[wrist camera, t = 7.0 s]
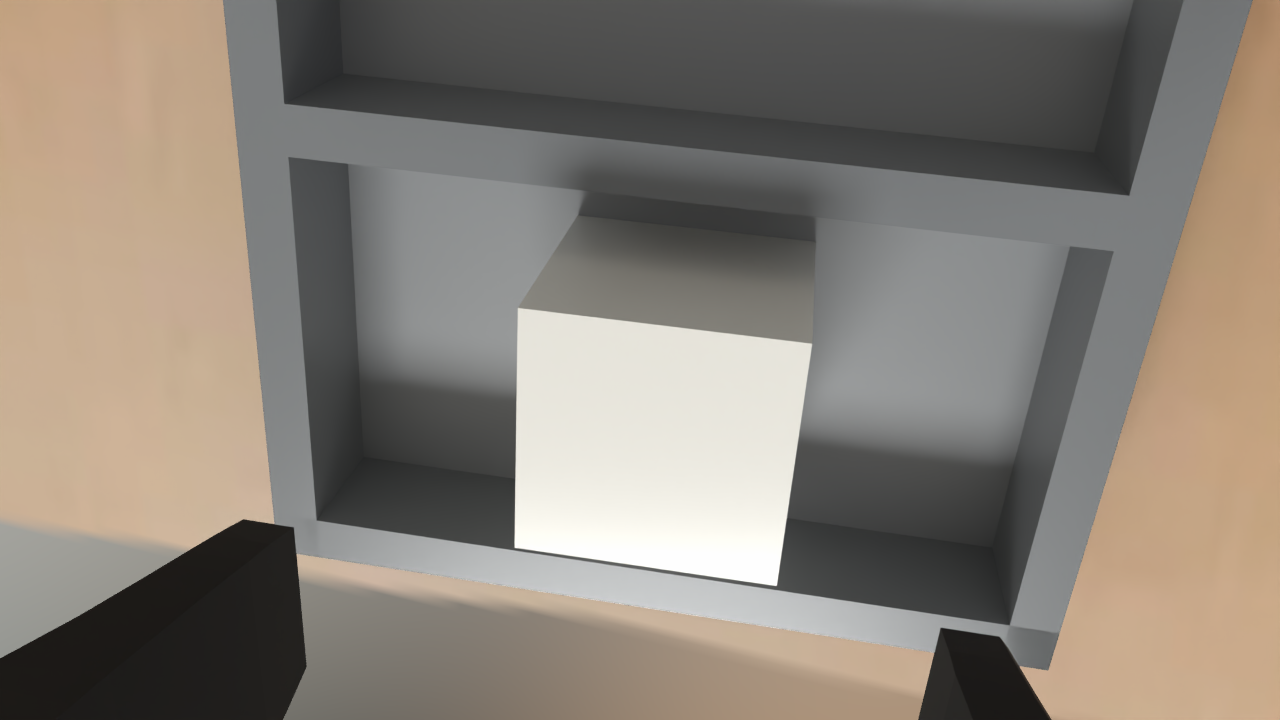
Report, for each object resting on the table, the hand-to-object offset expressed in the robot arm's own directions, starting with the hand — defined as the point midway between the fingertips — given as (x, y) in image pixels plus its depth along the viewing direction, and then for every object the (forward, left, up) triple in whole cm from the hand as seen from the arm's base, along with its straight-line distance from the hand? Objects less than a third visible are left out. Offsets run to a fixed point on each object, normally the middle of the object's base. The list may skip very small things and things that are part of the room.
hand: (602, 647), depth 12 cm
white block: (0, 0, -8) cm, 8 cm away
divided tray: (-1, -3, -9) cm, 10 cm away
